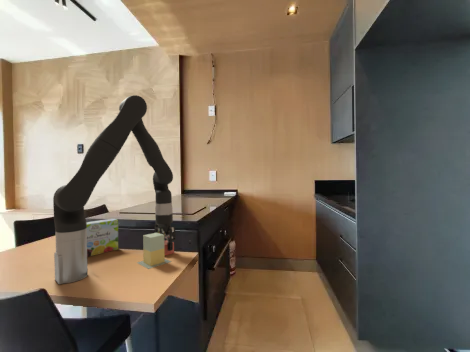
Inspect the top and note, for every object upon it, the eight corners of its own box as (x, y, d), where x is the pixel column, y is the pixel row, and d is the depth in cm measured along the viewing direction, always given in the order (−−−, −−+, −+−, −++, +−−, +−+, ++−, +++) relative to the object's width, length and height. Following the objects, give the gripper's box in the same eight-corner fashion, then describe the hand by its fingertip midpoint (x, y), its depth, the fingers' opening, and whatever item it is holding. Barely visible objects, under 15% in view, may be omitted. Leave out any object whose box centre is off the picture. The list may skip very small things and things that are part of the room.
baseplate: (148, 270, 91) (148, 268, 91) (136, 264, 98) (136, 262, 98) (171, 263, 98) (171, 261, 98) (158, 258, 105) (158, 256, 105)
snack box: (69, 262, 102) (69, 226, 102) (64, 259, 106) (64, 225, 106) (119, 249, 119) (118, 218, 119) (113, 247, 123) (112, 217, 123)
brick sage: (150, 251, 94) (150, 237, 94) (143, 248, 98) (143, 235, 98) (164, 248, 98) (164, 234, 98) (156, 245, 102) (156, 232, 102)
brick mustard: (150, 266, 94) (150, 251, 94) (143, 262, 98) (143, 248, 98) (164, 261, 98) (164, 248, 98) (157, 258, 102) (156, 245, 102)
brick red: (162, 258, 105) (162, 245, 105) (155, 255, 109) (155, 243, 109) (174, 254, 110) (173, 242, 110) (166, 252, 114) (166, 240, 114)
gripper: (148, 212, 112) (149, 247, 112) (165, 215, 102) (166, 253, 102) (163, 210, 117) (164, 243, 117) (180, 213, 107) (181, 249, 108)
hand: (165, 248), depth 110 cm, fingers open, 8 cm apart
